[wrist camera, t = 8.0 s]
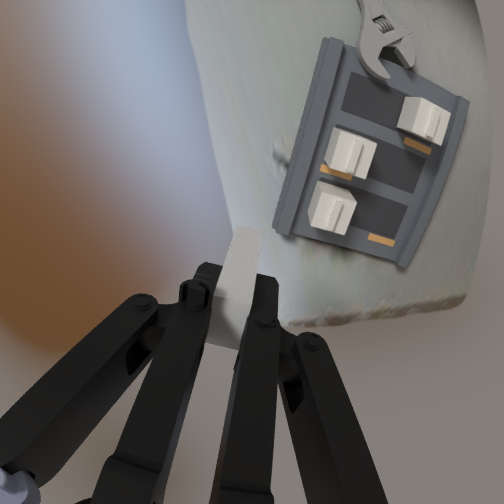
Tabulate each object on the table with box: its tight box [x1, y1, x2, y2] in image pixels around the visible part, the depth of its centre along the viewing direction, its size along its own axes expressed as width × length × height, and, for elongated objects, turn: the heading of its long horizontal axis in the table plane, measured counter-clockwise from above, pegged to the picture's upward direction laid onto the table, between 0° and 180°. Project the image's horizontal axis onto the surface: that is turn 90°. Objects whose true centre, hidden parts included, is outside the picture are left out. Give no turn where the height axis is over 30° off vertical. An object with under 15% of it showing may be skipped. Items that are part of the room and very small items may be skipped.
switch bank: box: [272, 37, 470, 268], centre depth 28 cm, size 22×18×2 cm
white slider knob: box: [324, 127, 377, 179], centre depth 26 cm, size 4×4×5 cm
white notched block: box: [397, 97, 451, 146], centre depth 23 cm, size 4×4×5 cm
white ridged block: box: [308, 181, 357, 235], centre depth 29 cm, size 4×4×5 cm
